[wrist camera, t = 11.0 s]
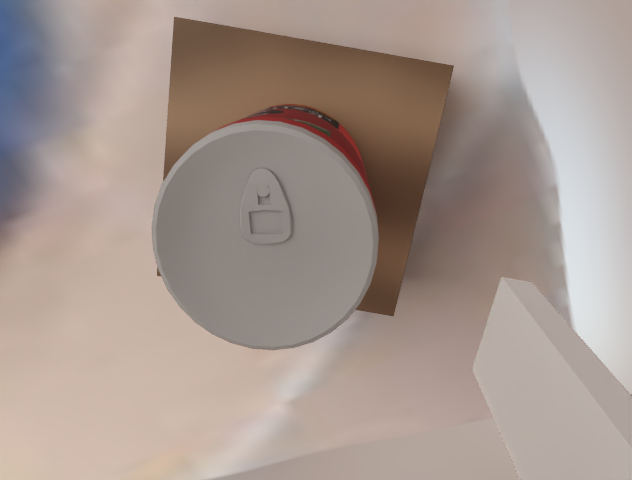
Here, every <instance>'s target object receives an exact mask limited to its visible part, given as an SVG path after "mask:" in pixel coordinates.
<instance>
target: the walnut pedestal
mask: <svg viewBox="0 0 632 480" xmlns="http://www.w3.org/2000/svg"><path fill="white" fill-rule="evenodd" d="M453 67H454V66H452V65H446V64H441V63H435V62H429V61H424V60H418V59H412V58H406V57H401V56H395V55H389V54H384V53H378V52H372V51H366V50H361V49H355V48H349V47H344V46H338V45H332V44H327V43H321V42H315V41H309V40H304V39H298V38H292V37H287V36H281V35H275V34H270V33H264V32H258V31H252V30H247V29H241V28H235V27H230V26H224V25H218V24H212V23H207V22H201V21H195V20H190V19H184V18H178V17H174V28H173V43H172V58H171V73H170V88H169V103H168V118H167V133H166V148H165V163H164V178H163V182H164V180H165V178H166V177H167V175H168V174H169V172H170V170H171V169H172V167H173V165H174V164H175V163H176V162H177V161H178V160H179V159H180V158H181V157H182V156H183V155H184V154H185V153H186V151H187V150H188V149H189V148H190V147H191V146H192V145H193V144H195V143H196V142H198V141H199V140H201V139H202V138H204V137H205V136H207V135H208V134H210V133H211V132H213V131H215V130H217V129H219V128H220V127H223V126H225V125H227V124H230V123H232V122H235V121H237V120H239V119H242V118H244V117H246V116H249V115H251V114H254V113H256V112H258V111H261V110H263V109H266V108H269V107H271V106H276V105H282V104H300V105H305V106H309V107H312V108H316V109H318V110H320V111H322V112H324V113H326V114H328V115H330V116H331V117H332V118H334V119H335V120H336V121H337V122H338V123H340V124H341V125H342V126H343V127H344V128H345V130H346V131H347V132H348V133H349V134H350V136H351V137H352V139H353V140H354V142H355V144H356V146H357V148H358V150H359V152H360V155H361V159H362V162H363V165H364V169H365V172H366V176H367V179H368V183H369V186H370V190H371V193H372V197H373V200H374V204H375V210H376V214H377V223H378V232H379V242H378V253H377V263H376V267H375V270H374V274H373V277H372V280H371V284H370V286H369V288H368V290H367V292H366V293H365V295H364V297H363V299H362V301H361V303H360V304H359V305H358V307H357V308H356V309H355V310H361V311H366V312H372V313H378V314H384V315H390V316H394V312H395V308H396V304H397V300H398V295H399V291H400V287H401V283H402V279H403V275H404V271H405V266H406V262H407V258H408V254H409V250H410V246H411V242H412V237H413V233H414V229H415V225H416V221H417V217H418V213H419V208H420V204H421V200H422V196H423V192H424V188H425V184H426V179H427V175H428V171H429V167H430V163H431V159H432V155H433V150H434V146H435V142H436V138H437V134H438V130H439V125H440V121H441V117H442V113H443V109H444V105H445V101H446V96H447V92H448V88H449V84H450V80H451V76H452V72H453ZM157 276H161V274H160V272H159V270H158V268H157Z"/></svg>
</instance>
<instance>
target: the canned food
mask: <svg viewBox="0 0 632 480" xmlns="http://www.w3.org/2000/svg"><path fill="white" fill-rule="evenodd" d="M152 239H153V250H154V254H155V258H156V262H157V266H158V270H159V272H160V274H161V276H162V278H163V281H164V283H165V285H166V287H167V289H168V291H169V292H170V294H171V295H172V296H173V298H174V299H175V301H176V302H177V303H178V305H179V306H180V308H181V309H182V310H183V311H184V312H185V313H186V314H187V315H188V316H190V317H191V318H192V319H193V320H194V321H195V322H196V323H197V324H198V325H200V326H201V327H203V328H204V329H206V330H207V331H209V332H210V333H212V334H213V335H215V336H217V337H220V338H222V339H224V340H226V341H228V342H230V343H233V344H237V345H241V346H245V347H248V348H252V349H266V350H278V349H287V348H295V347H298V346H301V345H304V344H308V343H311V342H314V341H316V340H317V339H319V338H321V337H323V336H325V335H327V334H329V333H331V332H332V331H333V330H334V329H336V328H337V327H338V326H339V325H341V324H342V323H343V322H344V321H346V320H347V319H348V318H349V316H350V315H351V314H352V313H353V311H354V310H355V309H356V308H357V307H358V305H359V304H360V303H361V301H362V299H363V297H364V295H365V293H366V292H367V290H368V288H369V286H370V284H371V280H372V277H373V274H374V270H375V267H376V263H377V253H378V242H379V232H378V223H377V214H376V210H375V204H374V200H373V197H372V193H371V190H370V186H369V183H368V179H367V176H366V172H365V169H364V165H363V162H362V159H361V155H360V152H359V150H358V148H357V146H356V144H355V142H354V140H353V139H352V137H351V136H350V134H349V133H348V132H347V131H346V130H345V128H344V127H343V126H342V125H341V124H340V123H338V122H337V121H336V120H335V119H334V118H332V117H331V116H330V115H328V114H326V113H324V112H322V111H320V110H318V109H316V108H312V107H309V106H305V105H300V104H282V105H276V106H271V107H269V108H266V109H263V110H261V111H258V112H256V113H254V114H251V115H249V116H246V117H244V118H242V119H239V120H237V121H235V122H232V123H230V124H227V125H225V126H223V127H220V128H219V129H217V130H215V131H213V132H211V133H210V134H208V135H207V136H205V137H204V138H202V139H201V140H199V141H198V142H196V143H195V144H193V145H192V146H191V147H190V148H189V149H188V150H187V151H186V153H185V154H184V155H183V156H182V157H181V158H180V159H179V160H178V161H177V162H176V163H175V164H174V165H173V167H172V169H171V170H170V172H169V174H168V175H167V177H166V178H165V180H164V182H163V183H162V186H161V189H160V191H159V194H158V197H157V200H156V203H155V206H154V214H153V221H152Z"/></svg>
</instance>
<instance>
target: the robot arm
mask: <svg viewBox="0 0 632 480" xmlns="http://www.w3.org/2000/svg"><path fill="white" fill-rule="evenodd" d="M472 370H473V373H474V375H475V377H476V380H477V382H478V384H479V386H480V389H481V391H482V393H483V396H484V398H485V400H486V403H487V405H488V407H489V409H490V412H491V414H492V416H493V419H494V421H495V423H496V426H497V428H498V430H499V432H500V435H501V437H502V439H503V441H504V444H505V446H506V449H507V451H508V453H509V455H510V458H511V460H512V462H513V464H514V467H515V469H516V472H517V474H518V476H519V478H520V480H632V395H630V394H629V392H628V391H627V390H626V389H625V388H624V387H623V386H622V384H621V383H620V382H619V381H618V380H617V379H616V378H615V376H614V375H613V374H612V373H611V372H610V371H609V370H608V368H607V367H606V366H605V365H604V364H603V363H602V362H601V361H600V360H599V358H598V357H597V356H596V355H595V354H594V353H593V351H592V350H591V349H590V348H589V347H588V346H587V345H586V343H585V342H584V341H583V340H582V339H581V338H580V337H579V336H578V334H577V333H576V332H575V331H574V330H573V329H572V328H571V326H570V325H569V324H568V323H567V322H566V321H565V320H564V318H563V317H562V316H561V315H560V314H559V313H558V312H557V311H556V309H555V308H554V307H553V306H552V305H551V304H550V303H549V301H548V300H547V299H546V298H545V297H544V296H543V295H542V293H541V292H540V291H539V290H538V289H537V288H536V287H535V286H534V284H533V283H532V282H529V281H523V280H517V279H511V278H505V277H501V280H500V283H499V286H498V289H497V292H496V295H495V299H494V302H493V305H492V308H491V311H490V314H489V317H488V320H487V324H486V327H485V330H484V333H483V336H482V339H481V342H480V346H479V349H478V352H477V355H476V358H475V361H474V364H473V367H472Z"/></svg>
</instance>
